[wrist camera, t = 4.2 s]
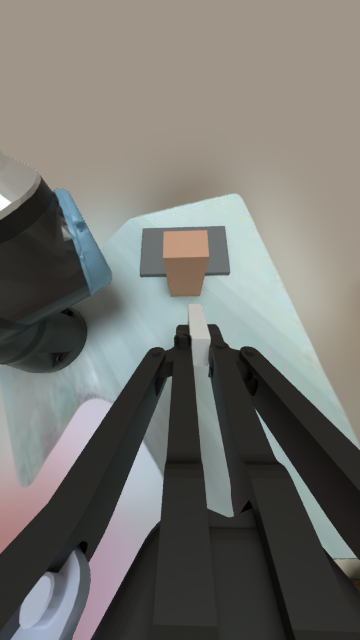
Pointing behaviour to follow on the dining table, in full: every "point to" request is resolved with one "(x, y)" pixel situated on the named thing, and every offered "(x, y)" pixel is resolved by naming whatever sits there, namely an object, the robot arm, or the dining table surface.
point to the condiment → (350, 569)
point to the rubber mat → (154, 236)
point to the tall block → (185, 261)
